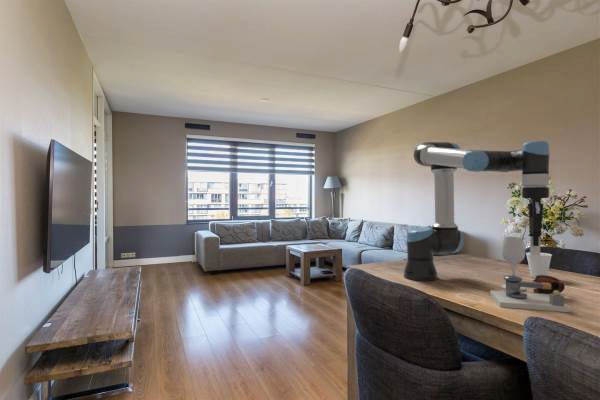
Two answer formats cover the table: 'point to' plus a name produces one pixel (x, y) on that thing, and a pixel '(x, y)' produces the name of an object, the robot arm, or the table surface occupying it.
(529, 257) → the cup
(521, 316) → the table surface
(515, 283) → the capstan
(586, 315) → the table surface
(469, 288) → the table surface
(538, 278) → the brown animal figurine
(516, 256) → the wineglass
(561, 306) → the level board
